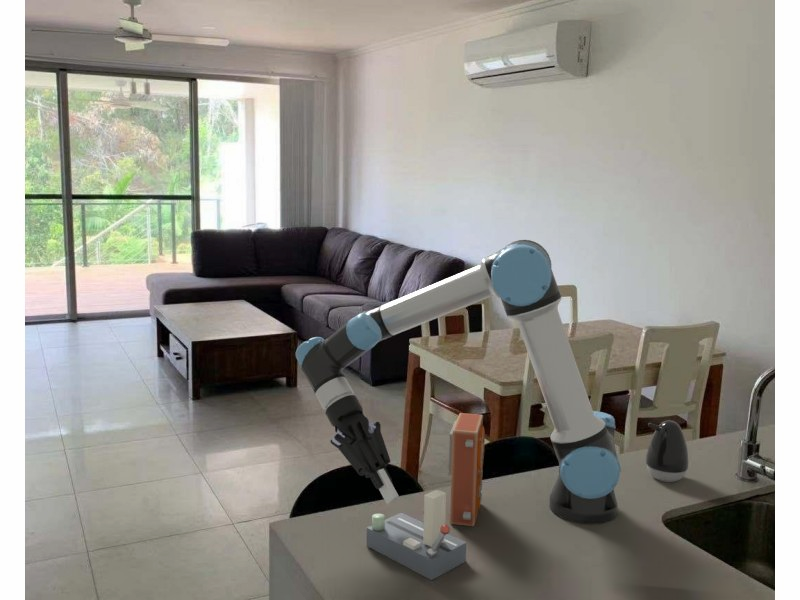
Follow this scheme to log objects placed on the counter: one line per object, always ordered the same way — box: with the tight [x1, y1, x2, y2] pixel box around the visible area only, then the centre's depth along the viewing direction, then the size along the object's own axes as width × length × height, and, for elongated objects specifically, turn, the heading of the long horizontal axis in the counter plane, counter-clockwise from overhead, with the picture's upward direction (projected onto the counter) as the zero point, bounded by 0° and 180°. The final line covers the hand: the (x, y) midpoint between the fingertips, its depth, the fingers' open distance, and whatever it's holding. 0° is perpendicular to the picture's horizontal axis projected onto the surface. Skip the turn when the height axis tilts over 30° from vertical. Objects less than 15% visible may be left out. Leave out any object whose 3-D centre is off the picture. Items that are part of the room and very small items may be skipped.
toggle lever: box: [426, 524, 451, 557], centre depth 139 cm, size 2×2×8 cm
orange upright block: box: [447, 412, 486, 527], centre depth 166 cm, size 21×7×15 cm
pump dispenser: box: [645, 420, 690, 483], centre depth 188 cm, size 10×10×15 cm
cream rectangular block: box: [423, 489, 447, 547], centre depth 144 cm, size 2×4×10 cm, turn 135°
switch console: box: [366, 512, 467, 581], centre depth 149 cm, size 18×10×5 cm, turn 45°
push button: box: [371, 513, 386, 531], centre depth 150 cm, size 3×3×2 cm
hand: (392, 500), depth 152 cm, fingers closed
